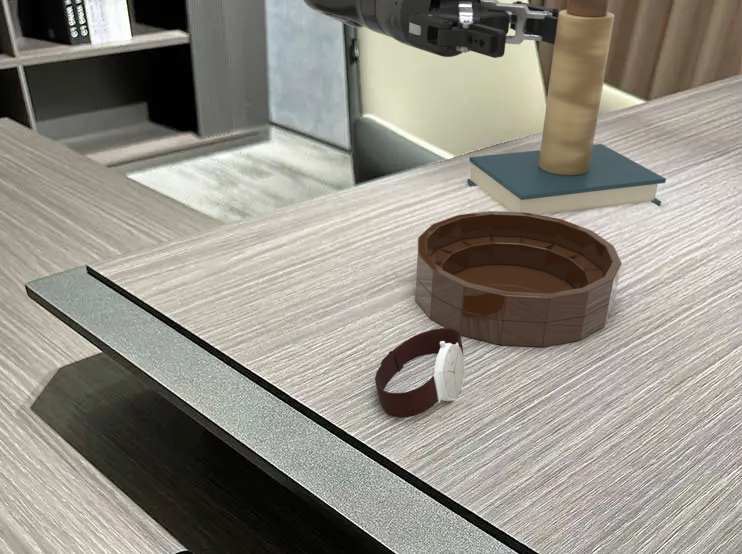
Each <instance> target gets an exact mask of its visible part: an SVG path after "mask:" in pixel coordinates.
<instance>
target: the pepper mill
mask: <svg viewBox="0 0 742 554" xmlns="http://www.w3.org/2000/svg"><path fill="white" fill-rule="evenodd" d="M609 4H610V0H567V7H566V9H563V10H562V11H560V12H559V15H558V23H557V30H556V38H555V44H553V45H554V46H553V53H552V61H551V69H550V76H549V83H548V91H547V98H546V105H545V111H544V112H545V113H544V121H543V127H542V135H541V143H540V149H539V150H540V157H539V167H540V168H541V169H542V170H544V171H546V172H549V173H553V174H558V175H580V174H584V173H586V172H588V170H589V166H590V160H591V154H592V148H593V145H594V142H595V136H596V131H597V123H598V118H599V111H600V105H601V99H602V93H603V87H604V81H605V75H606V70H607V65H608V58H609V53H610V45H611V40H612V33H613V29H614V22H615V14H614V13H612V12H609V6H610V5H609Z"/></svg>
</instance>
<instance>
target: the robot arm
mask: <svg viewBox="0 0 742 554" xmlns="http://www.w3.org/2000/svg"><path fill="white" fill-rule="evenodd" d="M303 2H304V3H305V5H307V7H309V8H310V9H312V10H313V11H315V12H316V13H319V14H322V15H323V16H326V17H329V18H331V19H333V20H335V21H338V22H340V23H342V24H344V25H347V26H349V27H352V28H357V29H358V28H359V29H362V28H366V29H368V30H370V31H372V32H375V33H377V34H380V35H383V36H386V37H389V38H392V39H394V40H395V41H397V42H399V43H401V44H403V45H406V46H409V47H412V48H414V49H419V50H422V51H424V52H427V53H430V54H433V55H437V56H440V57H443V58H453V57H456V56H459V55H461V54H463V53H464V54H466V53H469V52H473V53H476V54H480V55H482V56H487V57H490V58H493V59H499V58H502V57H504V55H505V52H506V44H508V45H520V44H522V43H523V42H524V41H535V42H536V41H537V42H540V43H547V44H551V45H555V38H556V30H557V23H558V15H559V12H560V11H562V10H561V9H559V8H557V7H548V6H542V5H538V4H532V3H528V2H522V0H516V1H513V2H512V3H507V2H500V1H499V0H303ZM510 30H513V31H514V35H508V33H509V31H510Z"/></svg>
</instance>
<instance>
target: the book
mask: <svg viewBox="0 0 742 554" xmlns="http://www.w3.org/2000/svg"><path fill="white" fill-rule="evenodd" d="M540 150H541V149H537V150H536V149H535V150H526V151H518V152H507V153H497V154H487V155H477V156H469V158H468V162H469V163H471V164H470V175H469V178H467V179H466V180H467V181H466V183H467V184H468V185H469V186H470V187H479V188H480V189H481V190H483V191H484V192H485V193H486V194H488V195H489V196H490V197H491V198H492V199H494V200H495V201H496V202H498V203H499V204H500V205H502V206H503V207H504V208H506V209H507V210H508V212H525V213H531V214H537V215H542V216H543V215H548V214H549V215H550V214H557V213H565V212H572V211H580V210H588V209H589V210H590V209H597V208H604V207H612V206H620V205H628V204H636V203H644V202H651V203H652V204H654V205H656V206H658V207H660V206H661V203H662V201H661V200H660V199H658V198H656V195H657V189H658V185H659V184H665V183H666V181H667V178H665V177H664V176H662V175H660V174H658V173H656V172H654V171H653V170H651V169H650V168H647V167H645V166H644V165H641V164H640V163H638V162H636V161H634V160H632V159H630V158H629V157H627V156H625V155H624V154H621V153H619V152H617V151H616V150H614V149H612V148H610V147H608V146H606V145H604V144H602V143H595V144H593V148H592V154H591V160H590V166H589V170H588V172H586V173H584V174H580V175H558V174H553V173H549V172H546V171H544V170H542V169H541V168H540V167H539V157H540Z"/></svg>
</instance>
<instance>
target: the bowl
mask: <svg viewBox="0 0 742 554" xmlns="http://www.w3.org/2000/svg"><path fill="white" fill-rule="evenodd" d="M416 247H417V248H416V265H415V282H414V284H415V285H414V299H415V300H414V301H415V302H416V303H417V304H418V306H419V307H420V309H422V311H423V312H424V313H425V314H426V315H427V317H428V318H429V319H430V320H432V321H433V322H436V323H438V324H439V325H442V326H443V327H444V328H451V329H455V330H457V331H458V332H459V333H460V334H461V336H464V337H466V338H472V339H475V340H479V341H483V342H487V343H491V344H494V345H498V346H499V345H501V346H519V347H537V348H545V347H550V346H557V345H561V344H567V343H575V342H579V341H581V340H583V339H585V338H587V337H588V336H591V335H592V334H594V333H596V332H597V331H600V330H601V329H603V328H604V327H606V324H607V321H608V320H609V318H610V316H611V314H612V311H613V309H614V304H615V300H616V294H617V289H618V284H619V279H620V274H621V269H622V265H623V264H622V263H623V262H622V261H621V258H620V256H619V255H618V252H617V250H616V247H615V246H614V245H613V244H612V243H610V242H609V241H607V240H606V239H605V238H603V237H602V236H601V235H599V234H598V233H596V232H595V231H594V230H591V229H589V228H587V227H584V226H581V225H578V224H575V223H573V222H571V221H568V220H565V219H561V218H559V217H558V218H557V217H553V216H546V215H543V214H542V215H537V214H531V213H525V212H511V211H500V210H499V211H497V210H491V211H490V210H488V211H480V212H472V213H462V214H457V215H454V216H451V217H449V218H445V219H443V220H440V221H438V222H437V221H436V222H435V223H432V224H431V225H430V226H429V227H428V228H427V229H426V230H425V231H423V232H422V234H420V235H419V236H418V237H417V245H416Z"/></svg>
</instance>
